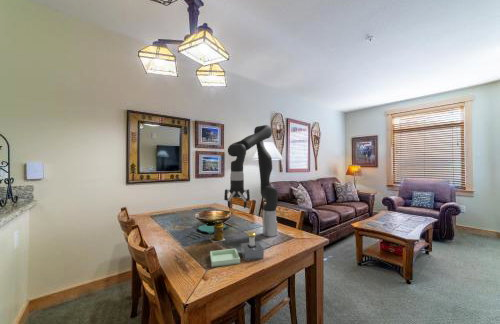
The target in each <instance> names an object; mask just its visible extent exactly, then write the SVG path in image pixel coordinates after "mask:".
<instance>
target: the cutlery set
mask: <svg viewBox="0 0 500 324" xmlns="http://www.w3.org/2000/svg"><path fill="white" fill-rule="evenodd" d="M206 224H207V223H205V224H202V225H199V226H197V227H198V228H197V231H199V232H197V231H193V230H192V231H189V232H187V233H185V234H184V236H186V237H190V238H191V239H195V240H198V238H202V237H206V235H205V234H202V233H207V234H208V235H213V234H214V226H207V225H206ZM224 229H226V224H223V230H224ZM200 232H202V233H200Z"/></svg>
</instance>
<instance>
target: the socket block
mask: <svg viewBox="0 0 500 324" xmlns="http://www.w3.org/2000/svg"><path fill="white" fill-rule="evenodd" d="M264 251H265V250H264V247H263V246H262V245H261V244H260V242H259V241H255V248H249V242H243V243H240V253H241V256H242V257H243V260H244V261H245V262H247V261H253V260H254V261H255V260H261V259H264V254H265V253H264Z"/></svg>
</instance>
